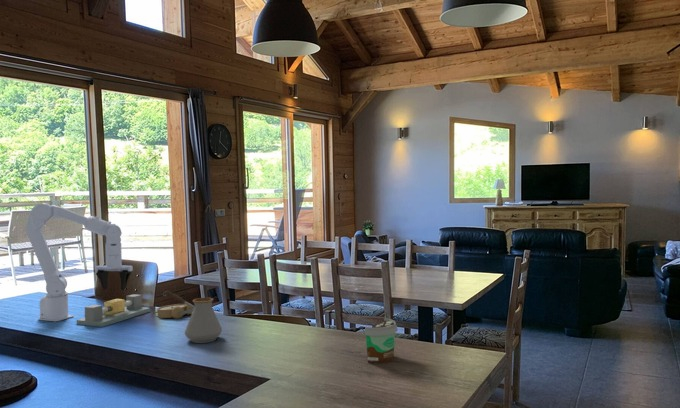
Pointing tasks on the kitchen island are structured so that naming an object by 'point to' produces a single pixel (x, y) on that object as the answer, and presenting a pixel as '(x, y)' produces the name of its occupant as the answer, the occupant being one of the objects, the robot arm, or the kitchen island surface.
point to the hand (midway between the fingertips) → (114, 289)
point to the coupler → (115, 306)
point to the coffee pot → (201, 320)
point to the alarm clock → (174, 311)
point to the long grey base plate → (98, 317)
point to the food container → (381, 341)
